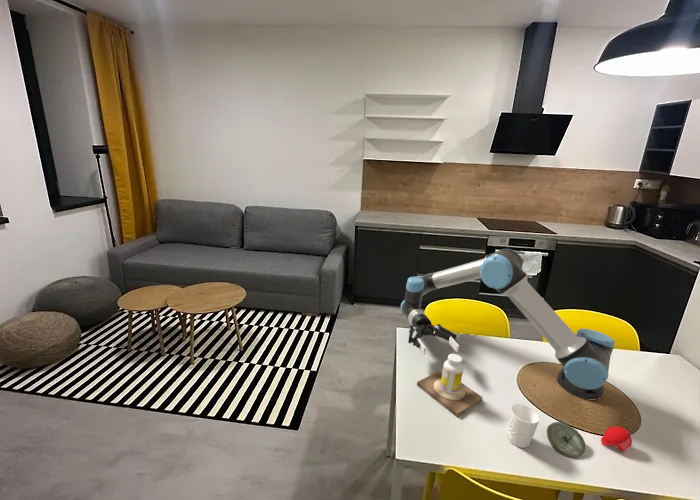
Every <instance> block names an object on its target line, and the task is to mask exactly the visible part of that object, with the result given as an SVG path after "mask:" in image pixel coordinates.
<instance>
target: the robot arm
mask: <svg viewBox="0 0 700 500" xmlns="http://www.w3.org/2000/svg"><path fill="white" fill-rule="evenodd" d="M523 263H524V262H523V259H522V256H521V255H520V254H519V252H517V251H515V250H514V249H512V248H502V249H499V250H496V251H495V252H492V253H489V254H486V255H485V257H484V258H481V259H478V260H474V261H471V262H468V263H464V264H461V265H458V266H457V265H456V266H453V267H449V268H447V269H446V268H445V269H443V270H440V271H436V272H432V273H431V272H430V273H427V274H424V275H423V276H421V277H419V276H410V277H408V278H407V281H406V285H405V294H404V295H405V296H404V300H402V302H401V303H400V310H401V312H402V315H404V316H405V318H406V319H407V321H408V322H409V324H410V325H409V326H408V327H409V328H408V332H409V335H408V340H407V341H408V342H407V343H408V344H411V343H412V345H413V346H414V347H416V348H417V349H418V350H420V352H421V353H422V354H423V355H426V351H427V348H426V346H425V345H424V343H423V342H422V341H421V338H422V337H423V336H432V337H438V338H440V339H442V340H445V341H447V342H448V344H449V345H450V346H451V348H452V349H453V350H454V351H455V352H456V353H459V350H460V345H459V344H458V341H457V337H458V336H457V334H456V333H455V332H453V331H450V330H449V329H447V328H445V327H443V326H442V325H441V324H440V323H438V324H437V325H436V326H435V325H433V324H432V321H431V320H430V319H429V317H428V316H427V315H426V313H425V312H424V311H423V310H422V309H421V306H422V300H423V297H424V296H425V295H426V294H428V293H429V292H431V291H435V290H439V289H441V288H446V287H451V286H455V285H458V284H459V285H460V284H461V283H462V284H463V283H465V282H470V281H474V280H477V279H478V280H479V279H481V281H482V283H484V285H485V286H487V287H488V288H491V289H494V290H496V291H497V292H498V293H499V294H500V296H507V298H509V300H511V302H512V303H513V304H514V305H515V306H516V307H517V309H518V310H519V311H520V312H521V313H522V315H523V316H525V317H526V319H527V320H528V322H530V324H531V325H532V326H533V327H534V328H535V329H536V330H537V332H539V334H540V335H541V336H542V337H543V338H544V339H545V340H546V341H547V343H548V344H549V345H550V346H551V347H552V348H553V349H554V352H555V355H554V356H555V358H556V359H557V361H558V362H559V364H561V365H562V368H561V369H560V370H559V372H558V375H557V378H556V381H557V383H558V384H559V385H560V387H561V386H562V387H561V388H562V389H564V390H565V391H566V392H567V393H569V392H570V394H572V395H573V394H574V395H573V396H575V395H576V396H575V397H577V396H578V398H580V397H581V398H580V399H583V398H584V400H587V399H599V398H601V397H602V396H604V394H605V383H606V382H607V380H608V378H609V369H610V361H611V356H612V354H613V352H614V349H615V340H614V339H613V338H612V337H610V336H608V335H607V334H605V333H603V332H600V331H597V330H593V329H589V328H580V329H578V330H577V331H576V333H575V332H574V331H573V330H572V329H571V328H570V327H569V326H568V325H567V323H565V321H564V320H563V319H562V318H561V316H559V315H558V314H557V312H556V311H555V310H554V309H553V308H552V307H551V306H550V305H549V304H548V303H547V301H546V300H544V298H543V297H542V296H541V295H540V294H539V293H538V292H537V290H535V289H534V287H533V286H532V285H531V284H530V283H529V282H528V277H529V276H528V274H527V273H526V272H525V271H524V270H523V266H524V265H523ZM415 332H416V334H415V335H413V334H414V333H415ZM413 336H414V337H413ZM602 398H603V397H602ZM602 398H601V399H602ZM599 400H600V399H599Z"/></svg>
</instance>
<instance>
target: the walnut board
mask: <svg viewBox="0 0 700 500" xmlns="http://www.w3.org/2000/svg"><path fill="white" fill-rule="evenodd" d="M442 372H443V369H440V370H438V371H435V372H434V373H432V374H430V375H427V376H426V377H424V378H422V379H421V380H418V381H417V382H416V386H417V387H418V388H419V389H421V390H422V391H423V392H425V394H427V395H428V396H429V397H431V398H432V399H434V401H436V402H437V403H438V404H440V405H441V406H442V407H444V408H445V410H447V411H448V412H450V413H451V414H452V415H454V416H455V417H456V418H458V417H459V416H461V415H462V414H464V413H466V412H468V411H469V410H470V409H472V408H473V407H475V406H477V405H478V404H479V403H481V402H482V401H483V396H481V395H480V394H479V393H477V392H475V391H474V390H473V389H471V388H470V387H469V386H467V385H465V384H464V383H463V382H461V384H460V389H459V392H458V393H456V394H449V393H447V392H445V391H443V390H442V388H441V386H440V384H441V378H442Z"/></svg>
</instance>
